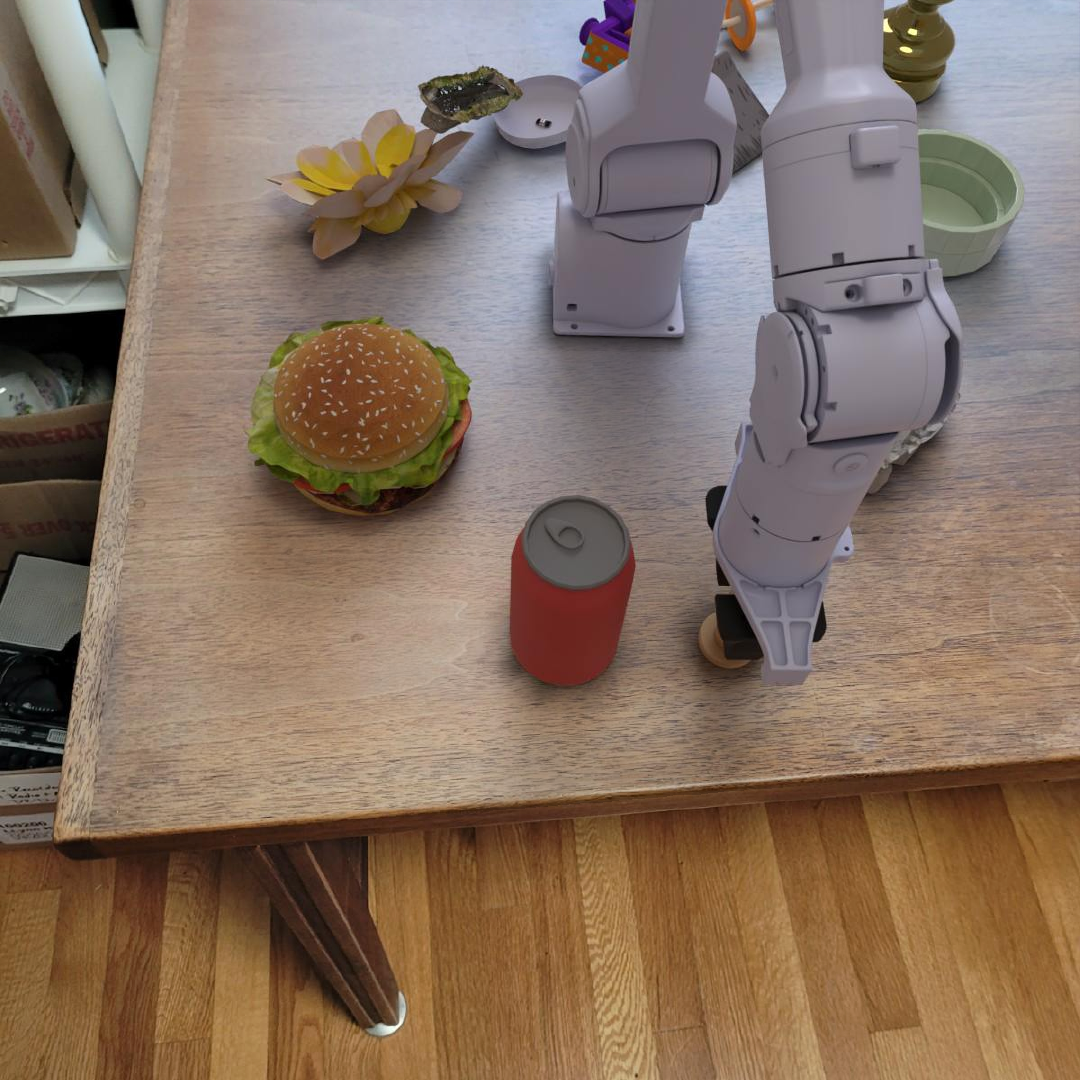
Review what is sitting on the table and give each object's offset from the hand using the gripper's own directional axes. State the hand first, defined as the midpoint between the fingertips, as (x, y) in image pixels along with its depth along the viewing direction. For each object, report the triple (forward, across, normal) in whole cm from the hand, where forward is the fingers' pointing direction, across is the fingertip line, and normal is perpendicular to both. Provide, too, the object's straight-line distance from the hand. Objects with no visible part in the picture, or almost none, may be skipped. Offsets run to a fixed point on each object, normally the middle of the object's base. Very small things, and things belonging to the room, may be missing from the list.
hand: (738, 617), depth 61 cm
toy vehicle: (+4, +52, +1) cm, 52 cm away
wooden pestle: (+3, 0, 0) cm, 3 cm away
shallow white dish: (+3, +47, +11) cm, 48 cm away
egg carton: (+4, +16, -11) cm, 20 cm away
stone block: (-4, +42, +15) cm, 44 cm away
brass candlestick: (+4, +55, -20) cm, 58 cm away
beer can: (+4, 0, +10) cm, 11 cm away
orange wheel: (+1, +59, +1) cm, 59 cm away
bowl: (+3, +36, -19) cm, 41 cm away
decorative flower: (+3, +36, +24) cm, 43 cm away
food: (+4, +14, +23) cm, 28 cm away
